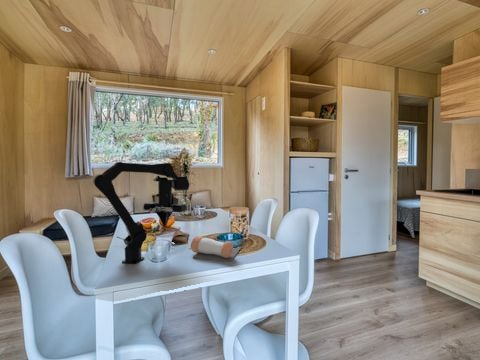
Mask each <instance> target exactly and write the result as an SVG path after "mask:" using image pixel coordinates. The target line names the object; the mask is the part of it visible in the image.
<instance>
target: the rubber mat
mask: <svg viewBox="0 0 480 360" xmlns="http://www.w3.org/2000/svg"><path fill="white" fill-rule="evenodd" d="M242 248H243V247H242V246H238V247H237V248H234V249H233V253H232V255H231V257H229V258H224V257H223V256H222V255H216V254H205V253H196V254H195V255H193V259H202V260H211V261H220V262H221V261H223V262H232V261H233V260H235V259H234V258H235V257H236V256H237V255H238V254H239V252H240V251H241V250H242ZM239 250H240V251H239Z"/></svg>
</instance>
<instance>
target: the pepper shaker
mask: <svg viewBox="0 0 480 360" xmlns="http://www.w3.org/2000/svg"><path fill="white" fill-rule="evenodd" d="M233 246H234V244H233V243H232V242H231V241H229V240H228V241H225V242H222V241H217V240H215V239H212V238H206V237H204V236H199V235H196V236H194V237H193V238H192V240H191V244H190V248H191V251H192V253H196V254H197V253H205V254H216V255H222V256H223V257H224V258H229V257H231V255H232V253H233Z"/></svg>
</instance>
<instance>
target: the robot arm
mask: <svg viewBox="0 0 480 360" xmlns="http://www.w3.org/2000/svg"><path fill="white" fill-rule="evenodd" d="M123 172H124V173H145V174H147V173H148V174H153V175H156V177H155V178H154V179H153V182H158V185H157V187H158V189H157V190H158V193H156V197H158V201H157V202H155V201H153V202H151V201H150V202H145V203H144V204H143V208H142V209H143V210H144V211H150V210H151V209H155V210H154V213H155V214H156V215H157V217H158V218H159V220H160V221H161V223H162V226H163V227H167V226H168V223H169V220H170V217H171V215H172V213H182V212H183V213H184V212H187V211H188V208H187V207H188V206H187V204H186V203H179V198H178V197H176V196H174V193H173V191H172V189H173V190H174V191H175V192H177V191H178V192H179V191H181V192H182V191H184V192H185V191H189V187H190V181H189V179H188V176H187V175H178V174H177V173H176V172H175V171H174V167H173V165H172V163H169V162H161V163H160V162H159V163H152V164H151V163H150V164H148V163H147V164H145V163H134V162H133V163H132V162H122V161H117V162H115V163H114V164H112V166H111V167H108V169H107V170H105V171H104V172H102V173H98V174H96V175H95V176H94V177H93V178H92V183H93V186H94V187H96V189H97V190H98V191H99V192H100V193H101V194H102V195H103V196H105V198H106V199H107V201H108V202H109V204H110V205H111V207H112V208H113V210H114V211H115V212H116V214H117V215H118V217H119V219H120V220H121V221H122V223H123V225H124V227H125V229H126V232H127V235H126V237H125V238H124V239H123V243H124V245H125V248H124V260H122V261H121V263H122V264H123V263H124V264H130V265H131V264H133V265H135V264H138V263H140V262H141V261H143V260H145V256H142V247H143V243H144V242H145V241H146V239H147V230H146V229H145V228H144V226H143V223H141V222H140V220H139V221H137V222H136V221H135V219H134V218H133V217H132V215H131V214H130V212H129V210H128V209H127V208H126V207H125V204H124V203H123V202H122V200H121V199H120V197H119V196H118V193H117V192H116V189H115V186H114V184H113V181H114V180H115V179H116V178H117V177H119V175H120V174H121V173H123ZM162 176H163V177H162ZM168 178H169V179H168Z"/></svg>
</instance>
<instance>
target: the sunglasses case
mask: <svg viewBox="0 0 480 360" xmlns="http://www.w3.org/2000/svg"><path fill="white" fill-rule="evenodd" d="M189 236H190V234H189V233H187V232H184V231H182V230H180V229H176V230H175V231H174V233H173V236H172V238H171V242H174V243H175V244H176V245H177V246H178V245H186V244H187V245H188V244H189V243H188V240H189V239H188V238H189Z"/></svg>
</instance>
